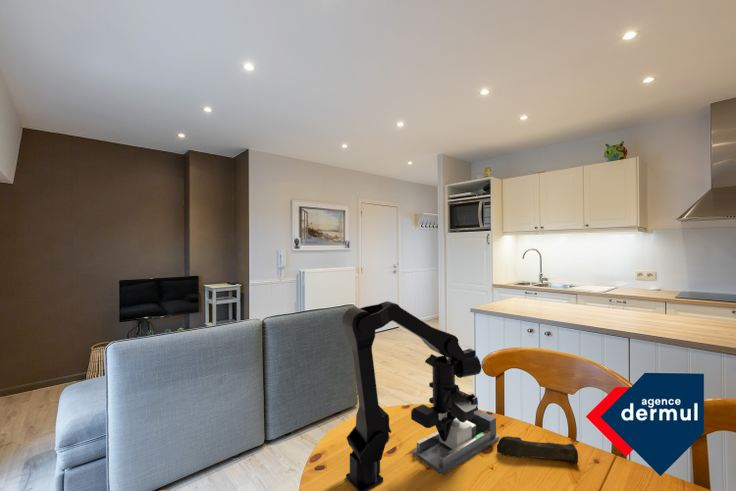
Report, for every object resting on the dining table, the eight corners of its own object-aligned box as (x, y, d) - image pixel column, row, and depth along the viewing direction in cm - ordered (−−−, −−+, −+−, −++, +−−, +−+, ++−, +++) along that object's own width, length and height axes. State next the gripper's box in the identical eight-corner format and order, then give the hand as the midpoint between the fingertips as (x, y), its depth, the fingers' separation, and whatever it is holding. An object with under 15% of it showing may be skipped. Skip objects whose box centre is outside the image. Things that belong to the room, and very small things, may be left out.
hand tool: (572, 456, 84) (572, 438, 84) (579, 466, 80) (579, 447, 80) (495, 448, 88) (495, 430, 88) (498, 457, 84) (497, 439, 84)
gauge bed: (442, 475, 77) (442, 449, 77) (412, 454, 85) (412, 431, 85) (499, 439, 91) (499, 418, 91) (469, 424, 99) (468, 404, 99)
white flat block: (471, 443, 87) (471, 427, 87) (453, 433, 92) (453, 418, 92) (476, 440, 88) (475, 424, 88) (458, 431, 93) (457, 415, 93)
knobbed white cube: (457, 451, 83) (457, 430, 83) (439, 440, 88) (439, 420, 88) (471, 443, 87) (471, 423, 87) (453, 433, 92) (453, 414, 92)
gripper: (444, 401, 73) (444, 471, 73) (491, 381, 84) (492, 442, 84) (409, 385, 82) (409, 447, 82) (456, 369, 93) (457, 424, 93)
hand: (444, 440), depth 85 cm, fingers closed
